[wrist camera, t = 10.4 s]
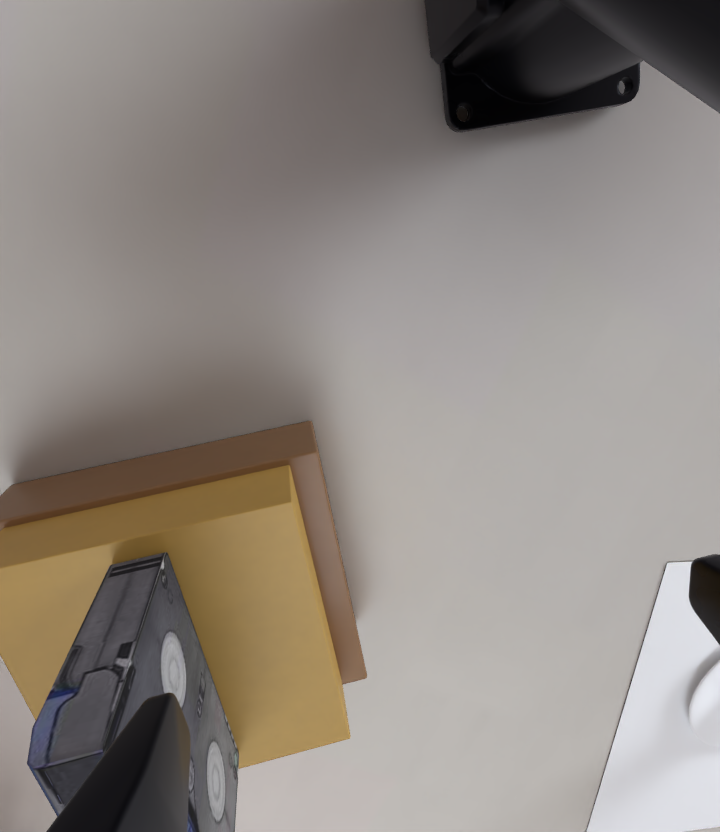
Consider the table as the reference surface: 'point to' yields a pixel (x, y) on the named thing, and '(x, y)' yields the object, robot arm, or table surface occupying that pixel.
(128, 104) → the table surface
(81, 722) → the mini dv tape
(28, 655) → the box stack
